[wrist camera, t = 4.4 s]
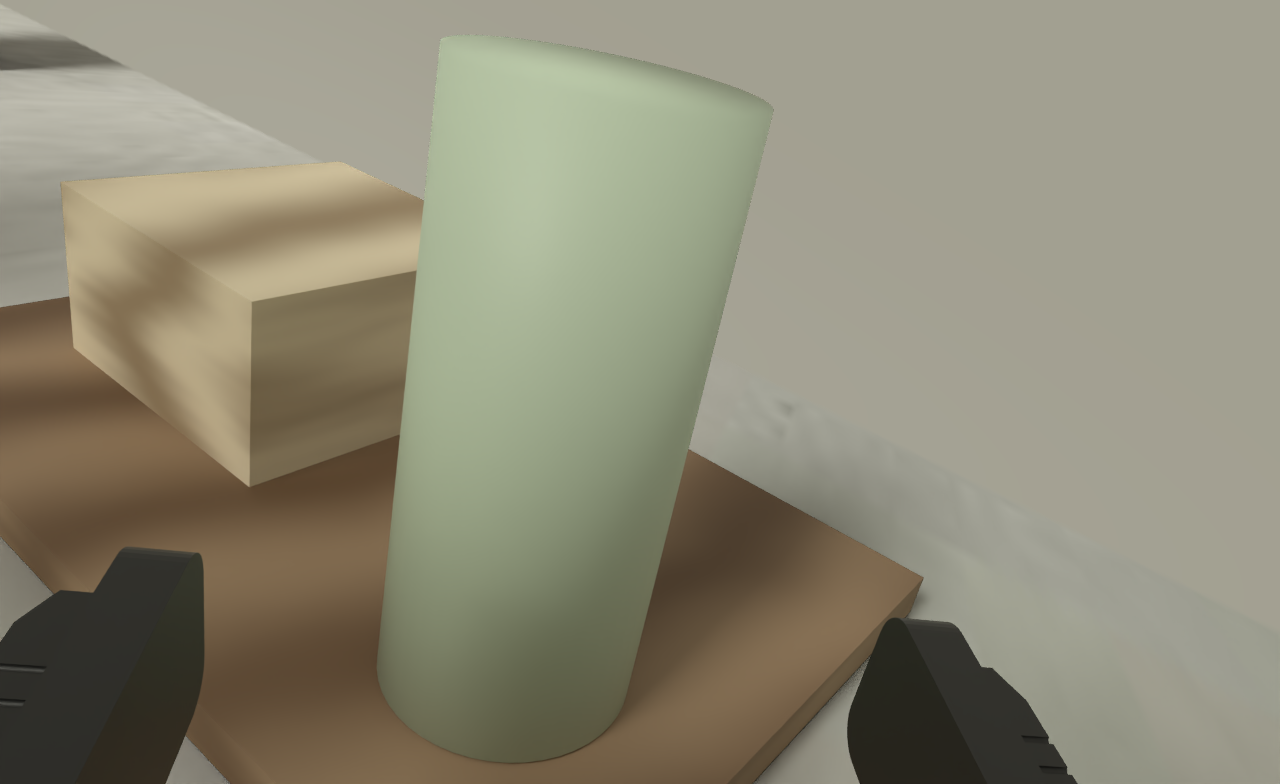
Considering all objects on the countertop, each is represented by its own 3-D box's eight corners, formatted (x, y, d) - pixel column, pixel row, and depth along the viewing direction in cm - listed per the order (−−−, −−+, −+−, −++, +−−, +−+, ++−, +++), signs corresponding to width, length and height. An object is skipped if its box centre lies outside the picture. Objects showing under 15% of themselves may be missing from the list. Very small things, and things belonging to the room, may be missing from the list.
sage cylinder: (322, 653, 19) (366, 26, 14) (504, 557, 23) (589, 43, 18) (507, 811, 17) (641, 119, 11) (675, 673, 21) (830, 115, 15)
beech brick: (73, 347, 28) (60, 181, 26) (333, 296, 35) (340, 161, 33) (249, 487, 24) (251, 301, 21) (506, 396, 30) (528, 249, 28)
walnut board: (-153, 372, 27) (-161, 333, 26) (330, 282, 39) (332, 254, 38) (492, 1066, 14) (503, 1017, 14) (909, 612, 26) (923, 577, 26)
